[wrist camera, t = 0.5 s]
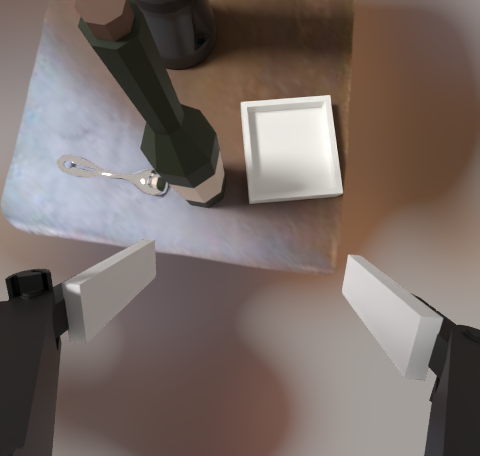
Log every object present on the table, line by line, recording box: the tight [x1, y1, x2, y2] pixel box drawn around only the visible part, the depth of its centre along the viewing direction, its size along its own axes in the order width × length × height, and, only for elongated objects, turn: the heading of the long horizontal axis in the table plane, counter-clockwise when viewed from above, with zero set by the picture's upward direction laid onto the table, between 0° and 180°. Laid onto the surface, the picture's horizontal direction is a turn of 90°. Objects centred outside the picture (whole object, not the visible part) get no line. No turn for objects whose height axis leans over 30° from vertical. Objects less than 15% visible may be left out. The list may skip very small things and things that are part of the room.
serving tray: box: [241, 95, 343, 204], centre depth 40 cm, size 18×16×2 cm
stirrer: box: [57, 155, 168, 195], centre depth 39 cm, size 20×4×5 cm
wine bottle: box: [75, 0, 226, 208], centre depth 25 cm, size 8×8×30 cm
